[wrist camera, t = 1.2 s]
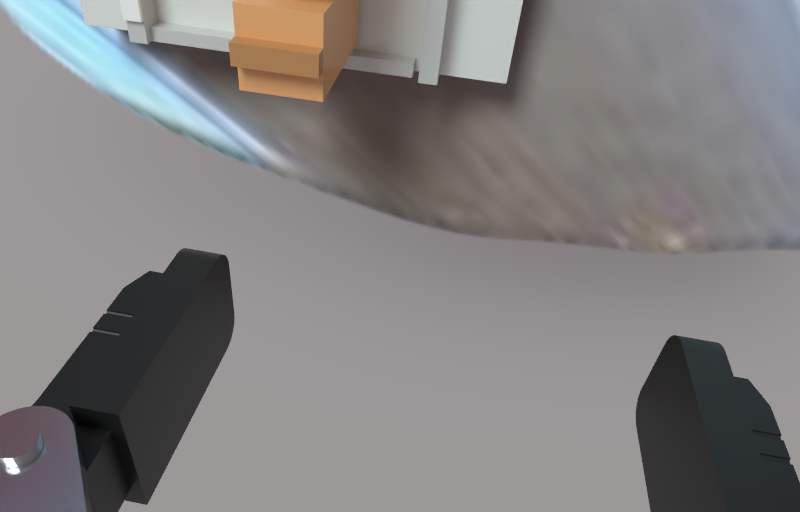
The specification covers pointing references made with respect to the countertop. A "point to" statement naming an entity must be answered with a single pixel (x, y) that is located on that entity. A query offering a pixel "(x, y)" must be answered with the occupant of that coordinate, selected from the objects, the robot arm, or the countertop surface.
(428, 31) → the switch bank
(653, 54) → the countertop surface
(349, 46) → the tab
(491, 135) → the countertop surface
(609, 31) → the countertop surface
